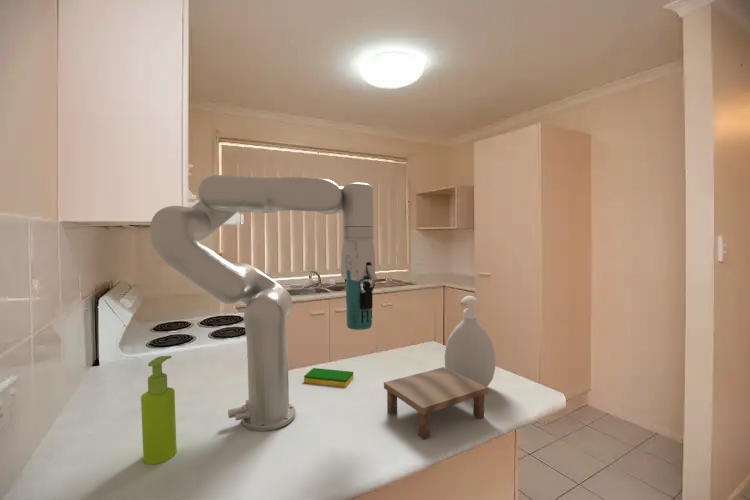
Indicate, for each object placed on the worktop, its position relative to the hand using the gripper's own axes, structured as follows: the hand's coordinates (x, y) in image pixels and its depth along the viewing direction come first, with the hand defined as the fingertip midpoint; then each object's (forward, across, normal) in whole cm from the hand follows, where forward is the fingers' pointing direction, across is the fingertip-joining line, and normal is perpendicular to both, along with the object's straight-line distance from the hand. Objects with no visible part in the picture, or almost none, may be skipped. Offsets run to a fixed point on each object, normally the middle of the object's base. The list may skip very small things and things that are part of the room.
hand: (359, 305), depth 90 cm
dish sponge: (+28, -24, +2) cm, 37 cm away
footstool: (+27, +10, +16) cm, 33 cm away
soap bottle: (+28, +2, +36) cm, 45 cm away
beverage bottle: (+7, 0, 0) cm, 7 cm away
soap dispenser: (+28, -7, -43) cm, 52 cm away
